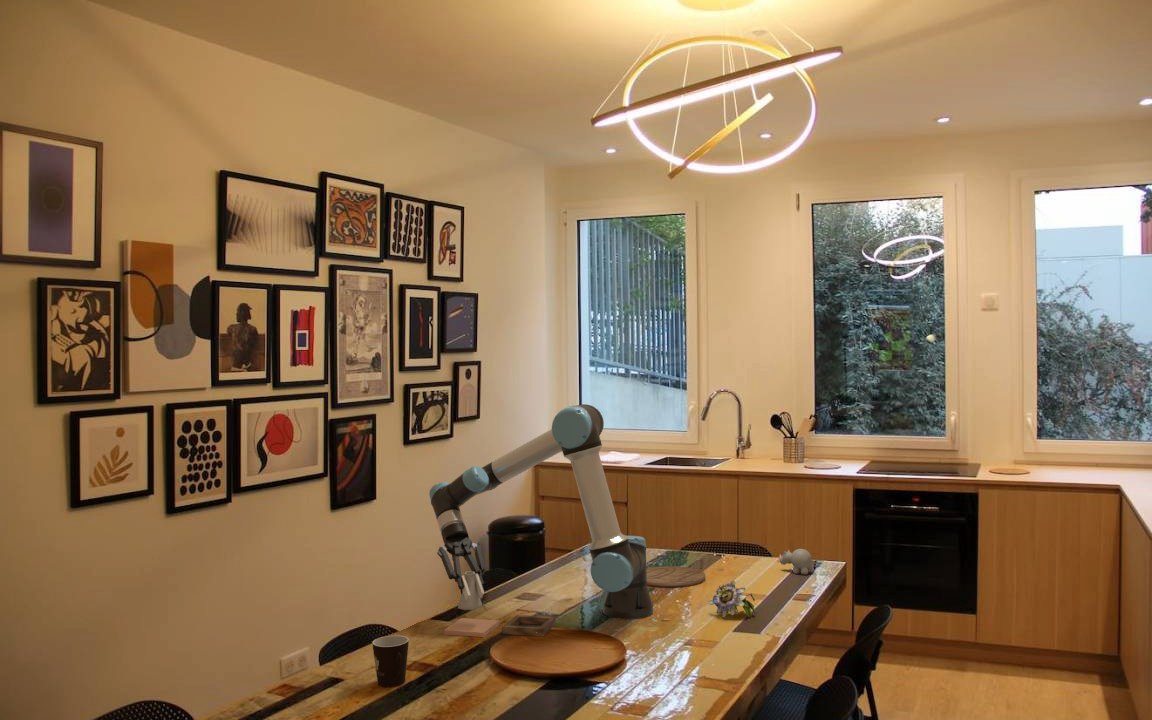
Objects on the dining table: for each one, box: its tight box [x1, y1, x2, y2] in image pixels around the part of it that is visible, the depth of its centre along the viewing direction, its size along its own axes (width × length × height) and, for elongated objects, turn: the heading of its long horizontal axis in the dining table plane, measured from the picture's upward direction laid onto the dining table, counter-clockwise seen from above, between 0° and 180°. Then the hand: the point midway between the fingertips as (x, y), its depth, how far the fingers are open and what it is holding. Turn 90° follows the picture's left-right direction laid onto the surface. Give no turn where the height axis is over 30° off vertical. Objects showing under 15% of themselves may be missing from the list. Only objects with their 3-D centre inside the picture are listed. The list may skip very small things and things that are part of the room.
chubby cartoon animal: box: [779, 548, 814, 576], centre depth 312 cm, size 7×12×8 cm, turn 48°
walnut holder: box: [501, 614, 557, 637], centre depth 252 cm, size 12×12×2 cm
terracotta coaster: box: [443, 617, 500, 638], centre depth 253 cm, size 12×12×1 cm
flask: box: [457, 570, 483, 611], centre depth 253 cm, size 7×7×10 cm
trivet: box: [646, 565, 706, 589], centre depth 307 cm, size 25×25×2 cm
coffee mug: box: [372, 635, 410, 689], centre depth 210 cm, size 12×9×10 cm
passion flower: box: [707, 579, 756, 619], centre depth 262 cm, size 11×11×12 cm
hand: (475, 596), depth 250 cm, fingers closed on flask, 3 cm apart
